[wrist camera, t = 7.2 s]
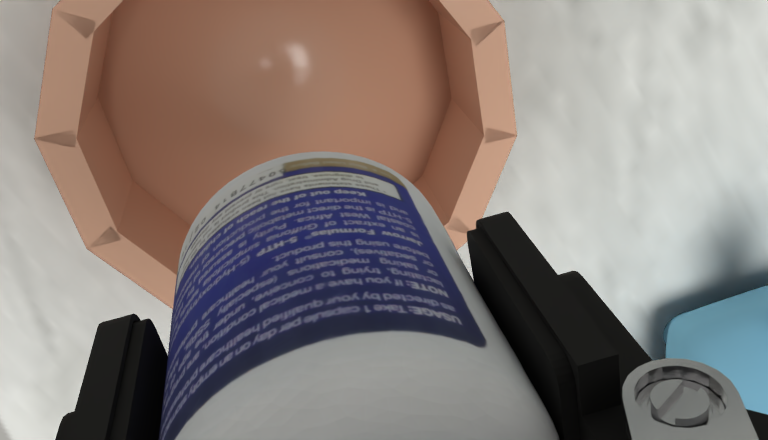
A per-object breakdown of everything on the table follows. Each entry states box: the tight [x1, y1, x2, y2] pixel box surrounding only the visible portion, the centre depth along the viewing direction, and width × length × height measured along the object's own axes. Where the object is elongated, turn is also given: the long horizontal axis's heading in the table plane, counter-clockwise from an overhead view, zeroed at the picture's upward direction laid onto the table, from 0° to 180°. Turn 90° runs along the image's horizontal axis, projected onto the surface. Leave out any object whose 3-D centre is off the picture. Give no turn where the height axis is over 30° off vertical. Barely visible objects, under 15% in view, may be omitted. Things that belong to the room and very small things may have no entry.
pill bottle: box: [159, 151, 560, 440], centre depth 10 cm, size 5×5×9 cm
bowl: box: [34, 0, 517, 309], centre depth 22 cm, size 13×13×4 cm
